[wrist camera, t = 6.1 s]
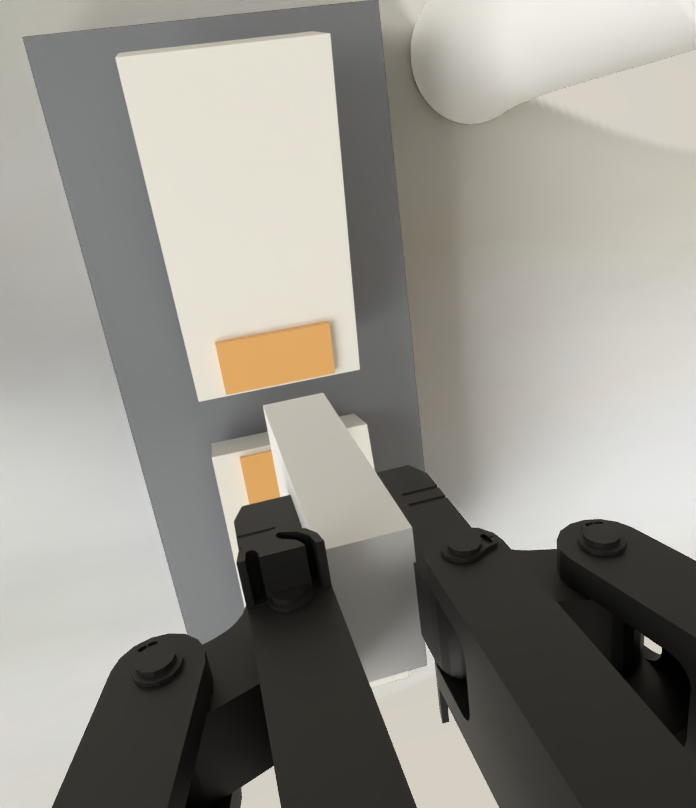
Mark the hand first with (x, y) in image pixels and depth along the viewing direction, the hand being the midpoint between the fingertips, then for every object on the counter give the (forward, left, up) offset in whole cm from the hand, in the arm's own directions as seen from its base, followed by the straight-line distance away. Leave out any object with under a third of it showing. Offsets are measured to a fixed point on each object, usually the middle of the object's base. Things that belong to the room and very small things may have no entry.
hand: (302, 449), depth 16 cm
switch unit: (0, -2, -17) cm, 17 cm away
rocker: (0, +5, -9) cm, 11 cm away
